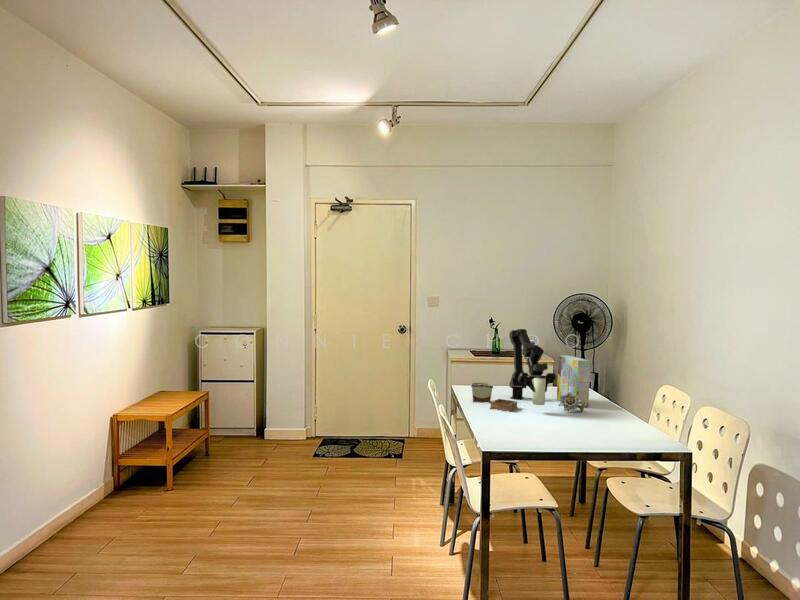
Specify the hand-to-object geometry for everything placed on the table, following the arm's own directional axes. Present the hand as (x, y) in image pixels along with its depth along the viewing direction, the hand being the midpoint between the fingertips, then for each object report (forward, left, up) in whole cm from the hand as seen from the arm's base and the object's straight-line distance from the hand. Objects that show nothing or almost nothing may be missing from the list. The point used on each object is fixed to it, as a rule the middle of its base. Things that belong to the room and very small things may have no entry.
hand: (540, 391), depth 294 cm
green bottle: (-1, -1, -7) cm, 7 cm away
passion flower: (-17, +11, -12) cm, 24 cm away
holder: (+1, -19, -11) cm, 22 cm away
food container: (-8, -36, -12) cm, 39 cm away
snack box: (-38, +6, -12) cm, 40 cm away
